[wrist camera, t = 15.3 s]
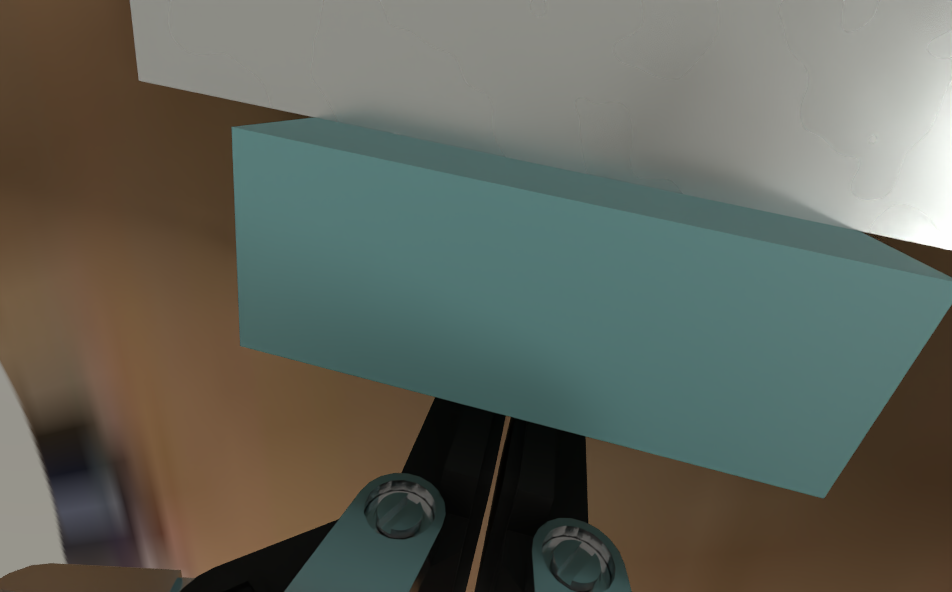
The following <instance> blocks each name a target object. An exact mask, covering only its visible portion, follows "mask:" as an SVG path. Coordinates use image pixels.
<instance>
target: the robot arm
mask: <svg viewBox="0 0 952 592" xmlns="http://www.w3.org/2000/svg"><path fill="white" fill-rule="evenodd" d="M505 417H506V415H502V414H499V413H495V412H491V411H487V410H483V409H479V408H476V407H472V406H468V405H464V404H460V403H456V402H453V401H449V400H445V399H441V398H437V397H435V399H434V401H433V404H432V406H431V408H430V410H429V413H428V415H427V417H426V419H425V422H424V424H423V426H422V428H421V430H420V433H419V435H418V437H417V439H416V442H415V444H414V446H413V448H412V451H411V453H410V455H409V457H408V459H407V462H406V464H405V466H404V468H403V471H402V473H393V474H388V475H384V476H380V477H379V478H377V479H375V480H373V481H371V482H369V483H368V484H367V485H366V486H365V487H364V488H363V489H362V490H361V491H360V492H359V494H358V495H357V496H356V498H355V499H354V500H353V501H352V503H351V504H350V505H349V507H348V508H347V509H346V511H345V512H344V513H343V515H342V516H341V517H340V519H338V520H336V521H333V522H331V523H328V524H325V525H323V526H320V527H318V528H315V529H312V530H310V531H307V532H305V533H302V534H300V535H297V536H294V537H292V538H289V539H287V540H284V541H282V542H279V543H276V544H274V545H271V546H269V547H266V548H263V549H261V550H258V551H256V552H253V553H251V554H248V555H245V556H243V557H240V558H238V559H235V560H232V561H230V562H227V563H225V564H222V565H220V566H217V567H214V568H213V569H211V570H209V571H207V572H205V573H203V574H201V575H199V576H197V577H196V578H182V575H181V570H169V569H150V568H130V567H111V566H92V565H73V564H54V563H50V564H40V565H31V566H29V567H25V568H23V569H20V570H17V571H14V572H12V573H9V574H7V575H5V576H3V577H2V578H0V592H465V591H466V587H467V583H468V579H469V575H470V571H471V567H472V562H473V558H474V554H475V550H476V546H477V542H478V538H479V534H480V529H481V525H482V521H483V517H484V513H485V509H486V505H487V501H488V496H489V492H490V488H491V484H492V479H493V475H494V470H495V465H496V460H497V456H498V451H499V446H500V441H501V436H502V432H503V427H504V422H505ZM475 592H632V591H631V587H630V584H629V580H628V576H627V572H626V568H625V565H624V562H623V560H622V557H621V555H620V553H619V551H618V549H617V548H616V547H615V545H614V544H613V543H612V541H611V540H610V539H609V538H608V537H607V536H606V535H604V534H603V533H602V532H601V531H600V530H599V529H597V528H595V527H593V526H592V525H590V524H588V500H587V469H586V439H585V436H583V435H579V434H575V433H571V432H567V431H564V430H560V429H556V428H552V427H548V426H544V425H541V424H537V423H533V422H529V421H525V420H521V419H518V418H514V417H511V419H510V423H509V427H508V432H507V436H506V440H505V444H504V448H503V452H502V456H501V461H500V465H499V470H498V475H497V481H496V486H495V491H494V496H493V501H492V506H491V511H490V516H489V521H488V526H487V531H486V536H485V541H484V546H483V551H482V557H481V562H480V567H479V572H478V577H477V582H476V587H475Z"/></svg>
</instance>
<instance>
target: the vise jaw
mask: <svg viewBox="0 0 952 592" xmlns="http://www.w3.org/2000/svg"><path fill="white" fill-rule="evenodd" d="M130 7H131V16H132V25H133V33H134V42H135V51H136V60H137V69H138V78H139V81H143V82H148V83H153V84H157V85H162V86H167V87H172V88H177V89H181V90H186V91H191V92H196V93H201V94H205V95H210V96H215V97H220V98H224V99H229V100H234V101H239V102H244V103H248V104H253V105H258V106H263V107H268V108H272V109H277V110H282V111H287V112H292V113H296V114H301V115H306V116H311V117H314V118H305V119H296V120H288V121H279V122H270V123H262V124H253V125H244V126H236V127H232V149H233V175H234V200H235V226H236V252H237V277H238V303H239V329H240V346H242V347H246V348H250V349H254V350H258V351H261V352H265V353H269V354H273V355H277V356H281V357H284V358H288V359H292V360H296V361H300V362H304V363H307V364H311V365H315V366H319V367H323V368H326V369H330V370H334V371H338V372H342V373H346V374H349V375H353V376H357V377H361V378H365V379H369V380H372V381H376V382H380V383H384V384H388V385H391V386H395V387H399V388H403V389H407V390H411V391H414V392H418V393H422V394H426V395H430V396H434V397H437V398H441V399H445V400H449V401H453V402H456V403H460V404H464V405H468V406H472V407H476V408H479V409H483V410H487V411H491V412H495V413H499V414H502V415H506V416H510V417H514V418H518V419H521V420H525V421H529V422H533V423H537V424H541V425H544V426H548V427H552V428H556V429H560V430H564V431H567V432H571V433H575V434H579V435H583V436H586V437H590V438H594V439H598V440H602V441H606V442H609V443H613V444H617V445H621V446H625V447H629V448H632V449H636V450H640V451H644V452H648V453H651V454H655V455H659V456H663V457H667V458H671V459H674V460H678V461H682V462H686V463H690V464H694V465H697V466H701V467H705V468H709V469H713V470H716V471H720V472H724V473H728V474H732V475H736V476H739V477H743V478H747V479H751V480H755V481H759V482H762V483H766V484H770V485H774V486H778V487H781V488H785V489H789V490H793V491H797V492H801V493H804V494H808V495H812V496H816V497H820V498H824V497H825V496H826V494H827V493H828V491H829V490H830V488H831V487H832V485H833V484H834V482H835V481H836V479H837V478H838V476H839V475H840V473H841V472H842V470H843V469H844V467H845V466H846V464H847V463H848V461H849V459H850V458H851V456H852V455H853V453H854V452H855V450H856V449H857V447H858V446H859V444H860V443H861V441H862V440H863V438H864V437H865V435H866V434H867V432H868V431H869V429H870V428H871V426H872V425H873V423H874V422H875V420H876V418H877V417H878V415H879V414H880V412H881V411H882V409H883V408H884V406H885V405H886V403H887V402H888V400H889V399H890V397H891V396H892V394H893V393H894V391H895V390H896V388H897V387H898V385H899V384H900V382H901V381H902V379H903V378H904V376H905V374H906V373H907V371H908V370H909V368H910V367H911V365H912V364H913V362H914V361H915V359H916V358H917V356H918V355H919V353H920V352H921V350H922V349H923V347H924V346H925V344H926V343H927V341H928V340H929V338H930V337H931V335H932V333H933V332H934V330H935V329H936V327H937V326H938V324H939V323H940V321H941V320H942V318H943V317H944V315H945V314H946V312H947V311H948V309H949V308H950V306H951V305H952V278H951V277H949V276H947V275H945V274H944V273H942V272H940V271H938V270H936V269H934V268H932V267H930V266H928V265H926V264H924V263H922V262H920V261H918V260H916V259H914V258H912V257H910V256H908V255H906V254H904V253H902V252H900V251H898V250H896V249H894V248H892V247H890V246H888V245H886V244H884V243H882V242H880V241H878V240H876V239H874V238H872V237H870V236H868V235H866V234H864V233H862V232H867V233H871V234H876V235H881V236H886V237H891V238H895V239H900V240H905V241H910V242H914V243H919V244H924V245H929V246H934V247H938V248H943V249H948V250H952V0H130ZM860 231H862V232H860Z"/></svg>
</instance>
